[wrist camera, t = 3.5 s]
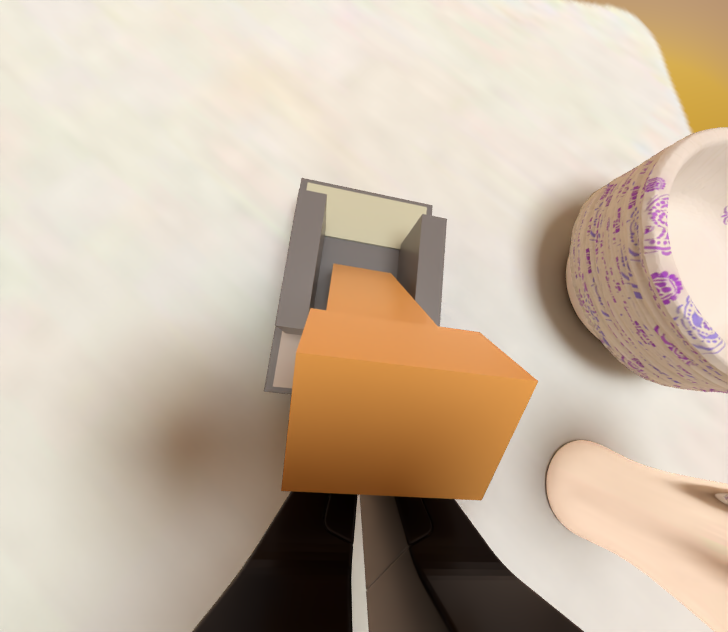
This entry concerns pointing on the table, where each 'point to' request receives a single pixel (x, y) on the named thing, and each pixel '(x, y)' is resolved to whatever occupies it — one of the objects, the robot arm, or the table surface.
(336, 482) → the breaker lever
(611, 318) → the paper bowls
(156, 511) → the table surface
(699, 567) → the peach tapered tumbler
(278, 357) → the breaker block
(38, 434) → the table surface
